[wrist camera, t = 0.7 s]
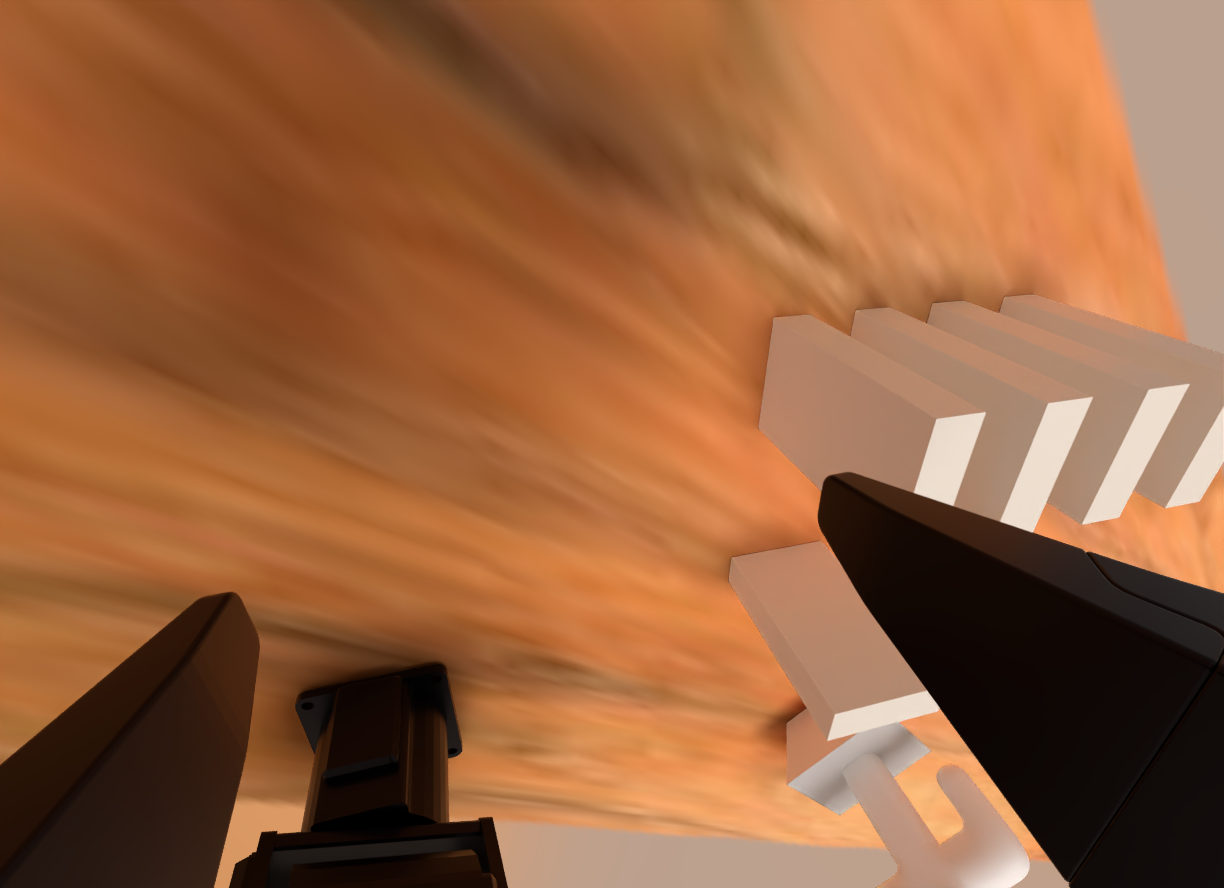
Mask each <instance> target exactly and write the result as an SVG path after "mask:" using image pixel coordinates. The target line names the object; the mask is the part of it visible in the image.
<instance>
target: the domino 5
mask: <svg viewBox="0 0 1224 888" xmlns="http://www.w3.org/2000/svg"><path fill="white" fill-rule="evenodd" d="M999 313H1000V314H1002V315H1005V316H1008V317H1010V318H1013V319H1016V320H1019V321H1021V322H1024V323H1027V324H1029V325H1032V326H1035V327H1038V328H1040V329H1043V330H1046V331H1048V332H1051V333H1054V334H1057V335H1059V336H1062V337H1065V338H1067V339H1070V340H1073V341H1076V342H1078V343H1081V344H1084V345H1086V346H1089V347H1092V348H1095V349H1097V350H1100V351H1103V352H1105V353H1108V354H1111V355H1114V356H1116V357H1119V358H1122V359H1124V360H1127V361H1130V362H1133V363H1135V364H1138V365H1141V366H1143V367H1146V368H1149V369H1152V370H1154V371H1157V372H1160V373H1162V374H1165V375H1168V376H1170V377H1173V378H1176V379H1179V380H1181V381H1184V382H1187V383H1189V384H1190V385H1189V386H1188V388H1187V390H1186V392H1185V394H1184V396H1183V398H1182V400H1181V401H1180V403H1179V405H1178V407H1177V409H1176V411H1175V413H1174V415H1173V417H1172V418H1171V420H1170V422H1169V424H1168V426H1167V428H1166V430H1165V432H1164V433H1163V435H1162V437H1161V439H1160V441H1159V443H1158V445H1157V447H1156V448H1155V450H1154V452H1153V454H1152V456H1151V458H1150V460H1149V462H1148V463H1147V465H1146V467H1145V469H1144V471H1143V473H1142V475H1141V477H1140V479H1139V480H1138V482H1137V484H1136V486H1135V488H1134V490H1133V491H1135V492H1137V493H1138V494H1140V495H1142V496H1144V497H1146V498H1147V499H1149V500H1151V501H1153V502H1155V503H1156V504H1158V505H1160V506H1162V507H1164V508H1169V507H1174V506H1179V505H1184V504H1189V503H1194V502H1199V501H1200V500H1201V498H1202V496H1203V495H1204V493H1205V491H1206V490H1207V488H1208V486H1209V485H1210V483H1211V481H1212V480H1213V478H1214V477H1215V475H1216V473H1217V472H1218V470H1219V468H1220V467H1221V465H1222V463H1223V462H1224V354H1222V353H1219V352H1216V351H1212V350H1209V349H1206V348H1203V347H1200V346H1197V345H1193V344H1190V343H1187V342H1184V341H1181V340H1178V339H1175V338H1171V337H1168V336H1165V335H1162V334H1159V333H1156V332H1152V331H1149V330H1146V329H1143V328H1140V327H1137V326H1133V325H1130V324H1127V323H1124V322H1121V321H1118V320H1114V319H1111V318H1108V317H1105V316H1102V315H1099V314H1095V313H1092V312H1089V311H1086V310H1083V309H1080V308H1076V307H1073V306H1070V305H1067V304H1064V303H1061V302H1057V301H1054V300H1051V299H1048V298H1045V297H1042V296H1038V295H1035V294H1030V295H1019V296H1008V297H1004V299H1003V302H1002V305H1001V308H1000V311H999Z"/></svg>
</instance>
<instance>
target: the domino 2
mask: <svg viewBox="0 0 1224 888" xmlns="http://www.w3.org/2000/svg"><path fill="white" fill-rule="evenodd" d="M728 582H729V583H730V585H731V587H732V588H733V590H734V591H735V593H736V595H737V596H738V598H739V599H740V601H741V603H742V604H743V606H744V608H745V609H746V611H747V612H748V614H749V616H750V617H751V619H752V620H753V622H754V624H755V625H756V627H757V629H758V630H759V632H760V633H761V635H762V637H763V638H764V640H765V641H766V643H767V645H768V646H769V648H770V650H771V651H772V653H773V654H774V656H775V658H776V659H777V661H778V662H779V664H780V666H781V667H782V669H783V671H784V672H785V674H786V675H787V677H788V679H789V680H790V682H791V683H792V685H793V687H794V688H795V690H796V692H797V693H798V695H799V696H800V698H801V700H802V701H803V703H804V704H805V706H806V708H807V709H808V711H809V713H810V714H811V716H812V717H813V719H814V721H815V722H816V724H817V726H818V727H819V729H820V730H821V732H822V734H823V735H824V737H825V738H826V740H827V741H829V740H833V739H837V738H840V737H844V736H848V735H852V734H855V733H859V732H863V731H866V730H870V729H874V728H878V727H881V726H885V725H889V724H892V723H896V722H900V721H904V720H907V719H911V718H915V717H918V716H922V715H926V714H930V713H933V712H937V711H938V710H939V706H938V705H937V704H936V702H935V701H934V700H933V698H932V697H931V695H930V694H929V693H928V691H927V690H926V689H925V687H924V686H923V684H922V683H921V682H920V680H919V679H918V678H917V676H916V675H915V673H914V672H913V671H912V669H911V668H910V667H909V665H908V664H907V662H906V661H905V660H904V658H903V657H902V656H901V654H900V653H899V651H898V650H897V649H896V647H895V646H894V645H893V643H892V642H891V640H890V639H889V638H888V636H887V635H886V634H885V632H884V631H883V629H882V628H881V627H880V625H879V624H878V623H877V621H876V620H875V619H874V617H873V616H872V614H871V613H870V611H869V610H868V609H867V607H866V606H865V604H864V603H863V601H862V599H861V598H860V596H859V595H858V593H857V591H856V590H855V588H854V586H853V585H852V583H851V581H850V579H849V578H848V576H847V574H846V573H845V571H844V569H843V567H842V566H841V564H840V562H839V561H838V559H837V558H836V557H835V556H834V555H833V554H832V553H831V551H830V550H829V549H828V548H827V547H826V546H825V545H824V544H823V543H822V541H817V542H812V543H806V544H801V545H796V546H790V547H785V548H779V549H774V550H769V551H763V552H758V553H752V554H747V555H741V556H736V557H731V565H730V573H729V581H728Z"/></svg>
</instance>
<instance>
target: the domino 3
mask: <svg viewBox="0 0 1224 888" xmlns="http://www.w3.org/2000/svg"><path fill="white" fill-rule="evenodd" d="M850 337H852V338H854V339H855V340H857V341H859V342H861V343H863V344H864V345H866V346H868V347H870V348H872V349H873V350H875V351H877V352H879V353H881V354H882V355H884V356H886V357H888V358H890V359H891V360H893V361H895V362H897V363H899V364H900V365H902V366H904V367H906V368H908V369H910V370H911V371H913V372H915V373H917V374H919V375H920V376H922V377H924V378H926V379H928V380H929V381H931V382H933V383H935V384H937V385H938V386H940V387H942V388H944V389H946V390H947V391H949V392H951V393H953V394H955V395H956V396H958V397H960V398H962V399H964V400H965V401H967V402H969V403H971V404H973V405H974V406H976V407H978V408H980V409H982V410H983V411H985V412H986V414H985V417H984V420H983V422H982V425H981V428H980V431H979V434H978V437H977V439H976V442H975V445H974V448H973V451H972V454H971V457H970V459H969V462H968V465H967V468H966V471H965V474H964V476H963V479H962V482H961V485H960V488H959V491H958V493H957V496H956V499H955V502H954V505H953V506H955V507H958V508H961V509H964V510H967V511H970V512H973V513H976V514H979V515H982V516H985V517H988V518H991V519H994V520H997V521H1000V522H1003V523H1006V524H1009V525H1012V526H1015V527H1018V528H1021V529H1024V530H1027V531H1030V532H1032V533H1033V531H1034V528H1035V526H1036V524H1037V522H1038V519H1039V517H1040V515H1041V513H1042V511H1043V508H1044V506H1045V504H1046V502H1047V499H1048V497H1049V495H1050V493H1051V490H1052V488H1053V486H1054V484H1055V481H1056V479H1057V477H1058V475H1059V472H1060V470H1061V468H1062V466H1063V464H1064V461H1065V459H1066V457H1067V455H1068V452H1069V450H1070V448H1071V446H1072V443H1073V441H1074V439H1075V437H1076V434H1077V432H1078V430H1079V428H1080V426H1081V423H1082V421H1083V419H1084V417H1085V414H1086V412H1087V410H1088V408H1089V405H1090V403H1091V401H1092V399H1093V397H1092V396H1090V395H1088V394H1085V393H1083V392H1081V391H1079V390H1076V389H1074V388H1072V387H1070V386H1067V385H1065V384H1063V383H1061V382H1058V381H1056V380H1054V379H1051V378H1049V377H1047V376H1045V375H1042V374H1040V373H1038V372H1036V371H1033V370H1031V369H1029V368H1027V367H1024V366H1022V365H1020V364H1017V363H1015V362H1013V361H1011V360H1008V359H1006V358H1004V357H1002V356H999V355H997V354H995V353H993V352H990V351H988V350H986V349H983V348H981V347H979V346H977V345H974V344H972V343H970V342H968V341H965V340H963V339H961V338H958V337H956V336H954V335H952V334H949V333H947V332H945V331H943V330H940V329H938V328H936V327H934V326H931V325H929V324H927V323H924V322H922V321H920V320H918V319H915V318H913V317H911V316H909V315H906V314H904V313H902V312H900V311H897V310H895V309H893V308H890V307H885V308H874V309H863V310H856V311H855V316H854V321H853V325H852V330H851V335H850Z"/></svg>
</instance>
